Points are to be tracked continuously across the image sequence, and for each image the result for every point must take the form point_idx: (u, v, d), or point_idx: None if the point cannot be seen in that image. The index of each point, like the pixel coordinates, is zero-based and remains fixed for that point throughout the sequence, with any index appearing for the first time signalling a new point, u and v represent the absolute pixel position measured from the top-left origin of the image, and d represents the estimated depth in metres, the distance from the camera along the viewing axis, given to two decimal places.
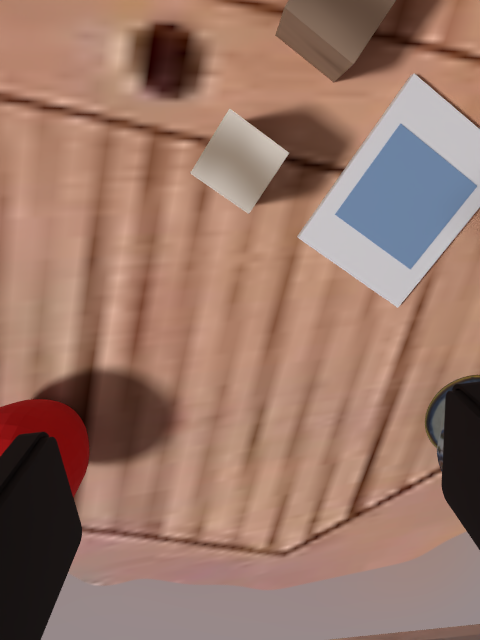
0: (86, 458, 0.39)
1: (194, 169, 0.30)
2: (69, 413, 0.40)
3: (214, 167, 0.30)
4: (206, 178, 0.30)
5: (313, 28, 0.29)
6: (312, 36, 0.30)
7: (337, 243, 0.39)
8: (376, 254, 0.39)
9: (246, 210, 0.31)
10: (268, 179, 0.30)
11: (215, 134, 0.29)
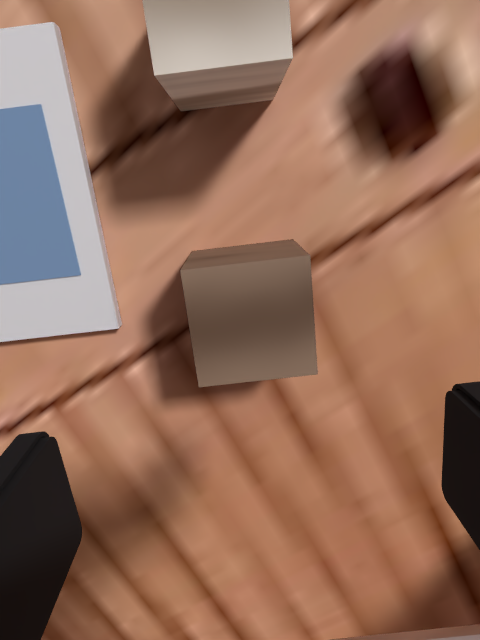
0: None
1: None
2: None
3: None
4: None
5: (258, 263, 0.20)
6: (253, 258, 0.20)
7: None
8: None
9: None
10: (147, 1, 0.15)
11: None
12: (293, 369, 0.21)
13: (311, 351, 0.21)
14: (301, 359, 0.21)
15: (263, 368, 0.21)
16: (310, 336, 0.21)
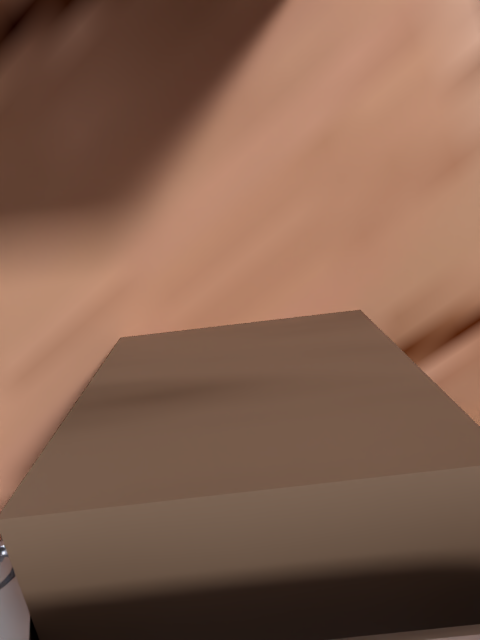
0: None
1: None
2: None
3: None
4: None
5: (310, 490, 0.05)
6: (282, 439, 0.06)
7: None
8: None
9: None
10: None
11: None
12: None
13: None
14: None
15: None
16: None
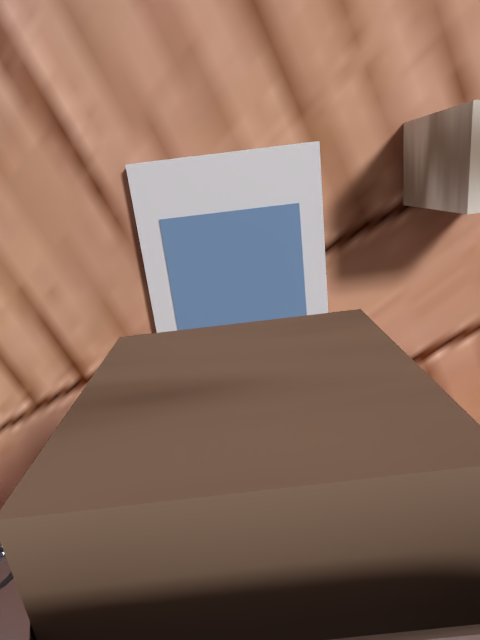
0: None
1: None
2: None
3: None
4: None
5: (310, 490, 0.05)
6: (283, 439, 0.06)
7: (268, 174, 0.27)
8: (212, 202, 0.27)
9: (479, 102, 0.19)
10: (473, 164, 0.20)
11: None
12: None
13: None
14: None
15: None
16: None
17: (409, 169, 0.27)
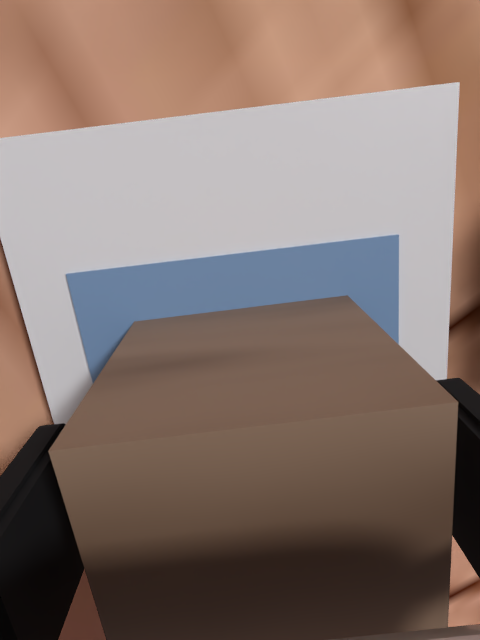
0: None
1: None
2: None
3: None
4: None
5: (296, 426, 0.06)
6: (275, 392, 0.07)
7: (327, 167, 0.11)
8: (193, 232, 0.11)
9: None
10: None
11: None
12: None
13: None
14: None
15: None
16: (436, 604, 0.07)
17: None
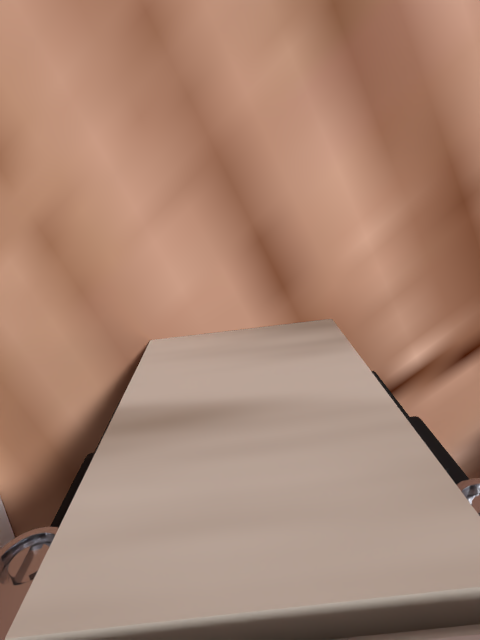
0: None
1: None
2: None
3: None
4: (408, 623, 0.04)
5: None
6: None
7: None
8: None
9: None
10: None
11: None
12: None
13: None
14: None
15: None
16: None
17: None
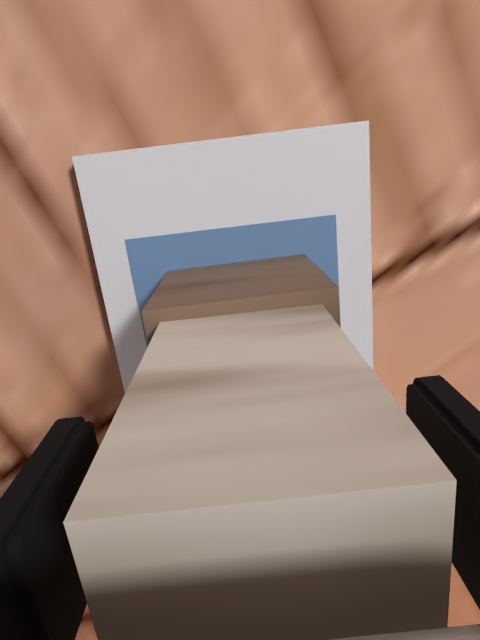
0: None
1: (446, 505, 0.05)
2: None
3: (364, 566, 0.06)
4: (367, 514, 0.05)
5: (261, 299, 0.13)
6: (252, 289, 0.14)
7: (289, 172, 0.18)
8: (206, 213, 0.18)
9: (86, 527, 0.05)
10: None
11: None
12: None
13: None
14: None
15: None
16: None
17: None
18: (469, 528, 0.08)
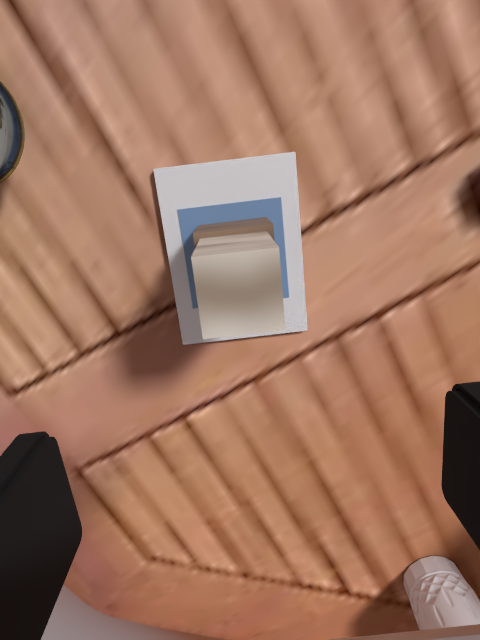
0: None
1: (277, 254, 0.24)
2: None
3: (260, 271, 0.24)
4: (259, 256, 0.24)
5: (241, 228, 0.31)
6: (238, 226, 0.32)
7: (257, 176, 0.36)
8: (217, 196, 0.37)
9: (196, 258, 0.24)
10: (200, 303, 0.25)
11: (281, 300, 0.25)
12: None
13: None
14: None
15: None
16: None
17: None
18: None
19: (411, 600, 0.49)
